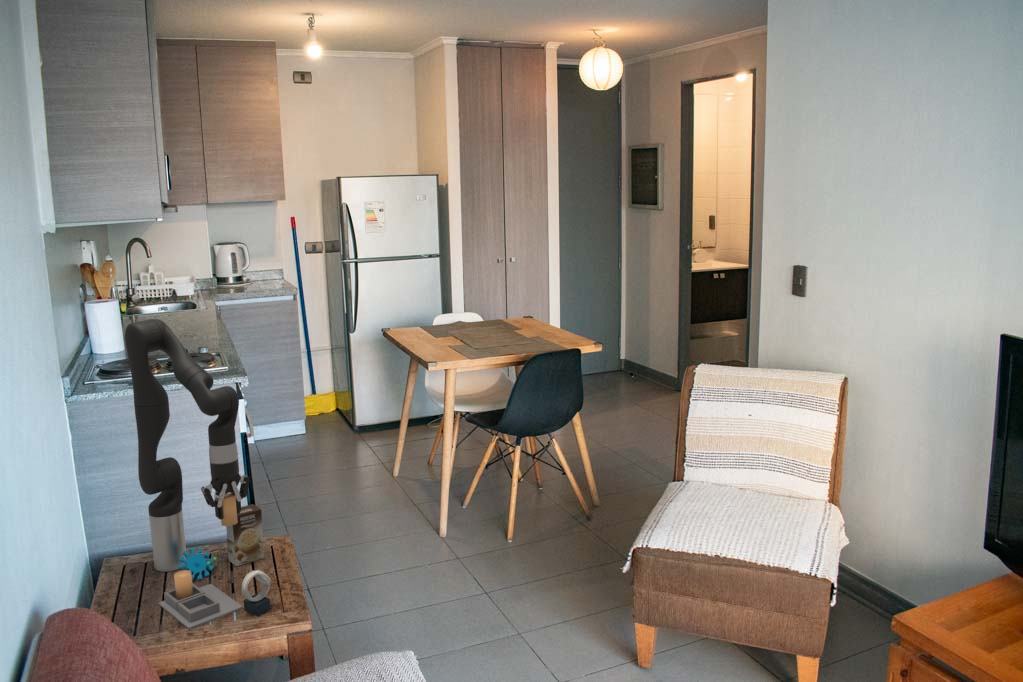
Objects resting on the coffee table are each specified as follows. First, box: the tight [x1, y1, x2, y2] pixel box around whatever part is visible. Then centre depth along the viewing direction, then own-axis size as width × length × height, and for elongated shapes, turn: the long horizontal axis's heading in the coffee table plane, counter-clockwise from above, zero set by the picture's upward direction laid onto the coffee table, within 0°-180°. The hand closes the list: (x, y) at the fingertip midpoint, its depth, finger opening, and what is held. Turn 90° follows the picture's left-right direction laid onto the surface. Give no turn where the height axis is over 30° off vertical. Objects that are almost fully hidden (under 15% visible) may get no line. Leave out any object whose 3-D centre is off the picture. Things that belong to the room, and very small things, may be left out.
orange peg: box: [220, 493, 238, 527], centre depth 236 cm, size 4×4×8 cm
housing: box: [158, 569, 244, 631], centre depth 228 cm, size 19×15×9 cm
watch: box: [240, 569, 272, 617], centre depth 225 cm, size 6×8×11 cm
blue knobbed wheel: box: [178, 547, 217, 581], centre depth 247 cm, size 11×6×10 cm
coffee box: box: [225, 503, 265, 567], centre depth 255 cm, size 9×6×16 cm
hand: (228, 515), depth 236 cm, fingers closed on orange peg, 4 cm apart
